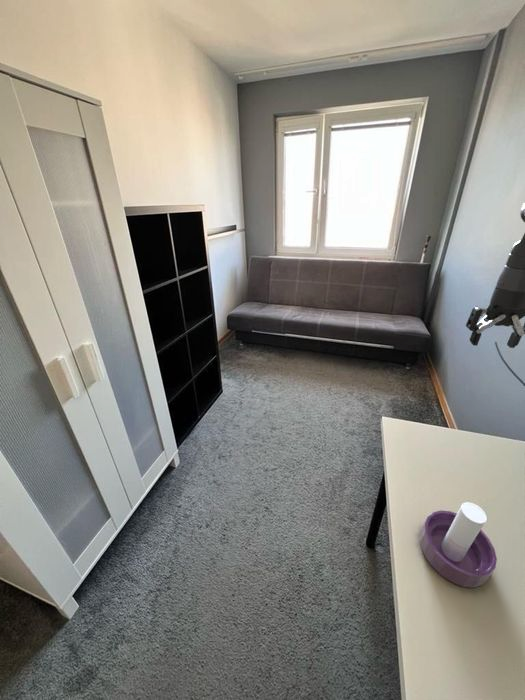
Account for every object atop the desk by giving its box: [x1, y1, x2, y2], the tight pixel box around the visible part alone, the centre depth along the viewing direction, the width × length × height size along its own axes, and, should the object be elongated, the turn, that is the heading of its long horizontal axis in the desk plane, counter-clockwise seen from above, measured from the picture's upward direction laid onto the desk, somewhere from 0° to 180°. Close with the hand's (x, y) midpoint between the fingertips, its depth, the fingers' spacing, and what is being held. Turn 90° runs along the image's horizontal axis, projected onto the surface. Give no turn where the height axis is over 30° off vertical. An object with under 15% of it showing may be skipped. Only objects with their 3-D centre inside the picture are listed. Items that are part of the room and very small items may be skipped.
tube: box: [441, 501, 488, 562], centre depth 60 cm, size 4×4×15 cm
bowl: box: [419, 509, 498, 589], centre depth 62 cm, size 13×13×6 cm
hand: (491, 345), depth 74 cm, fingers open, 8 cm apart
